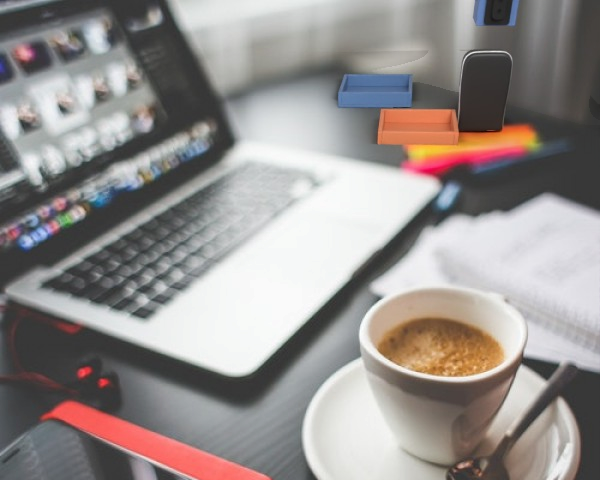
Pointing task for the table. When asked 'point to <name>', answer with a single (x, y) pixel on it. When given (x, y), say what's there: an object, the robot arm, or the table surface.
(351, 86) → the blue tray
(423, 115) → the orange tray
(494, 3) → the robot arm
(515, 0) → the blue block
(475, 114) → the battery charger
